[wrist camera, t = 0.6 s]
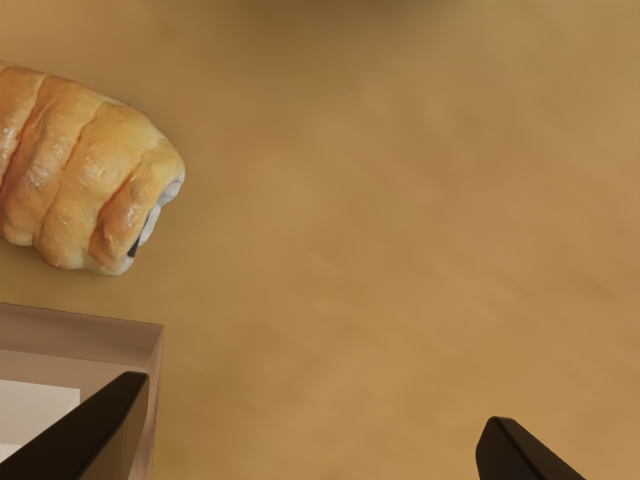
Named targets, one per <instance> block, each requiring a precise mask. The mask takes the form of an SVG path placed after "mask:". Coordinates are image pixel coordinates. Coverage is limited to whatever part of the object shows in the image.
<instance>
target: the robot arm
mask: <svg viewBox="0 0 640 480" xmlns="http://www.w3.org/2000/svg"><path fill="white" fill-rule="evenodd" d="M149 385H150V377H149V375H148V374H147V373H144V372H136V371H125V372H123V373H122V374H120V375H119V376H118V377H116V378H115V379H114V380H112V381H111V382H109V383H108V384H107V385H105V386H104V387H103V388H101V389H100V390H99V391H97V392H96V393H95V394H93V395H92V396H90V397H89V398H88V399H86V400H85V401H84V402H82V403H81V404H80V405H78V406H77V407H75V408H74V409H73V410H71V411H70V412H69V413H67V414H66V415H65V416H63V417H62V418H61V419H59V420H58V421H56V422H55V423H54V424H52V425H51V426H50V427H48V428H47V429H46V430H44V431H43V432H42V433H40V434H39V435H37V436H36V437H35V438H33V439H32V440H31V441H29V442H28V443H27V444H25V445H24V446H22V447H21V448H20V449H18V450H17V451H16V452H14V453H13V454H12V455H10V456H9V457H8V458H6V459H5V460H3V461H2V462H1V463H0V480H128V477H129V474H130V470H131V467H132V464H133V461H134V457H135V454H136V451H137V447H138V444H139V441H140V437H141V434H142V431H143V428H144V424H145V421H146V416H147V411H148V399H149ZM475 455H476V463H477V468H478V473H479V477H480V480H586V479H585V478H583V477H582V476H581V475H580V474H579V473H577V472H576V471H575V470H574V469H573V468H571V467H570V466H569V465H568V464H567V463H565V462H564V461H563V460H562V459H561V458H559V457H558V456H557V455H556V454H555V453H553V452H552V451H551V450H550V449H549V448H547V447H546V446H545V445H544V444H542V443H541V442H540V441H539V440H538V439H536V438H535V437H534V436H533V435H532V434H530V433H529V432H528V431H527V430H526V429H524V428H523V427H522V426H521V425H520V424H518V423H517V422H516V421H515V420H513V419H511V418H506V417H498V416H493V417H491V418H489V419H488V421H487V423H486V426H485V428H484V430H483V433H482V435H481V437H480V440H479V442H478V444H477V447H476V454H475Z"/></svg>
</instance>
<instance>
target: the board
mask: <svg viewBox="0 0 640 480" xmlns="http://www.w3.org/2000/svg"><path fill="white" fill-rule="evenodd" d="M163 331H164V326H163V325H156V324H149V323H141V322H134V321H127V320H120V319H113V318H106V317H98V316H91V315H84V314H77V313H70V312H63V311H55V310H48V309H41V308H34V307H27V306H20V305H12V304H5V303H0V380H8V381H16V382H25V383H33V384H41V385H49V386H57V387H66V388H74V389H80V404H81V403H82V402H84V401H85V400H86V399H88V398H89V397H90V396H92V395H93V394H95V393H96V392H97V391H99V390H100V389H101V388H103V387H104V386H105V385H107V384H108V383H109V382H111V381H112V380H114V379H115V378H116V377H118V376H119V375H120V374H122V373H123V372H125V371H136V372H144V373H147V374H148V375H149V377H150V385H149V399H148V411H147V416H146V421H145V424H144V428H143V431H142V434H141V437H140V441H139V444H138V447H137V451H136V454H135V457H134V461H133V464H132V467H131V470H130V474H129V477H128V480H148V477H149V474H150V471H151V468H152V458H153V446H154V435H155V423H156V412H157V400H158V389H159V377H160V365H161V354H162V342H163Z"/></svg>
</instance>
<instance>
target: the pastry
mask: <svg viewBox="0 0 640 480" xmlns="http://www.w3.org/2000/svg"><path fill="white" fill-rule="evenodd" d="M184 179H185V164H184V162H183V160H182V158H181V156H180V154H179V153H178V151H177V150H176V149H175V147H174V146H173V145H172V143H171V142H170V141H169V140H168V139H167V138H166V137H165V136H164V135H163V134H162V133H161V132H160V130H159V129H158V128H157V127H156V126H155V125H154V124H153V123H152V122H151V121H150V119H149V118H148V117H147V116H146V115H144V114H143V113H141V112H140V111H139V110H137V109H136V108H133V107H131V106H129V105H127V104H125V103H123V102H121V101H120V100H117V99H114V98H111V97H109V96H106V95H104V94H101V93H99V92H97V91H94V90H92V89H90V88H88V87H85V86H83V85H81V84H79V83H77V82H74V81H71V80H68V79H63V78H59V77H56V76H53V75H49V74H45V73H42V72H39V71H35V70H32V69H29V68H25V67H21V66H18V65H15V64H12V63H8V62H4V61H0V236H1V237H3V238H5V239H6V240H7V241H8V242H9V243H11V244H14V245H20V246H29V245H30V246H34V247H35V248H37V250H38V251H39V253H40V255H41V257H42V259H43V261H44V262H45V263H46V264H48V265H49V266H52V267H55V268H58V269H60V270H71V269H87V270H91V271H92V272H94V273H96V274H99V275H106V276H110V277H115V276H119V275H121V274H123V273H124V272H125V271H126V270H127V269H129V267H130V266H131V264H132V263H133V261H134V258H135V255H136V252H137V249H138V246H141V245H143V244H144V243H145V242H146V240H147V239H148V238H149V236H150V234H151V233H152V231H153V229H154V225H155V223H156V221H157V219H158V216H159V214H160V210H161V207H162V206H163V205H164V204H166V203H168V202H169V201H171V200H172V199H173V198H174V197H175V196H176V195H177V194H178V191H179V189H180V187H181V185H182V183H183V182H184Z"/></svg>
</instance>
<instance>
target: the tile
mask: <svg viewBox="0 0 640 480" xmlns="http://www.w3.org/2000/svg"><path fill="white" fill-rule="evenodd" d="M78 405H80V389H74V388H66V387H57V386H49V385H41V384H33V383H25V382H16V381H8V380H0V463H1V462H2V461H3V460H5V459H6V458H8V457H9V456H10V455H12V454H13V453H14V452H16V451H17V450H18V449H20V448H21V447H22V446H24V445H25V444H27V443H28V442H29V441H31V440H32V439H33V438H35V437H36V436H37V435H39V434H40V433H42V432H43V431H44V430H46V429H47V428H48V427H50V426H51V425H52V424H54V423H55V422H56V421H58V420H59V419H61V418H62V417H63V416H65V415H66V414H67V413H69V412H70V411H71V410H73V409H74V408H75V407H77V406H78Z"/></svg>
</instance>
